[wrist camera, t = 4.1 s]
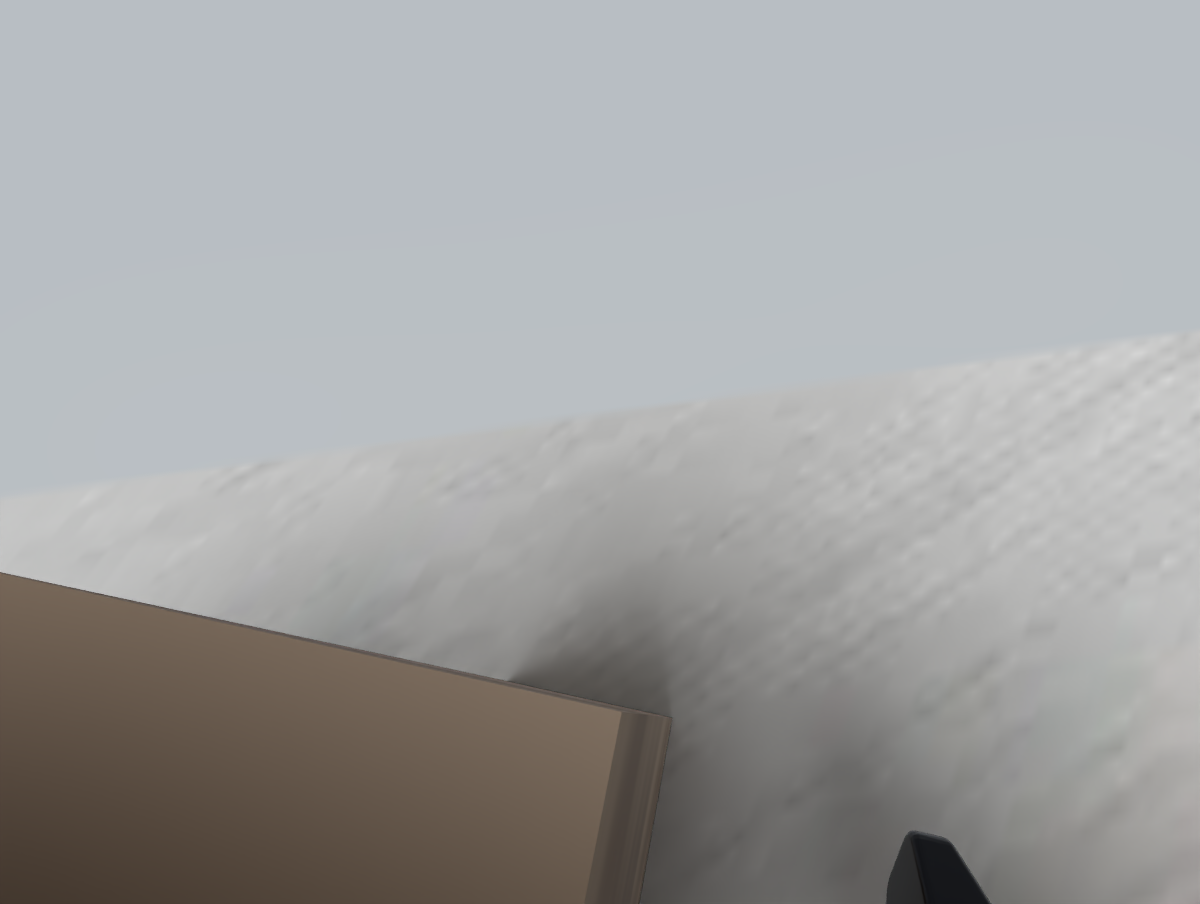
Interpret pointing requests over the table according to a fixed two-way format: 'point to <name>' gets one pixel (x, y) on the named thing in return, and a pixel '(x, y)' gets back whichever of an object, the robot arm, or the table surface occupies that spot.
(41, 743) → the walnut block
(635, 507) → the table surface
